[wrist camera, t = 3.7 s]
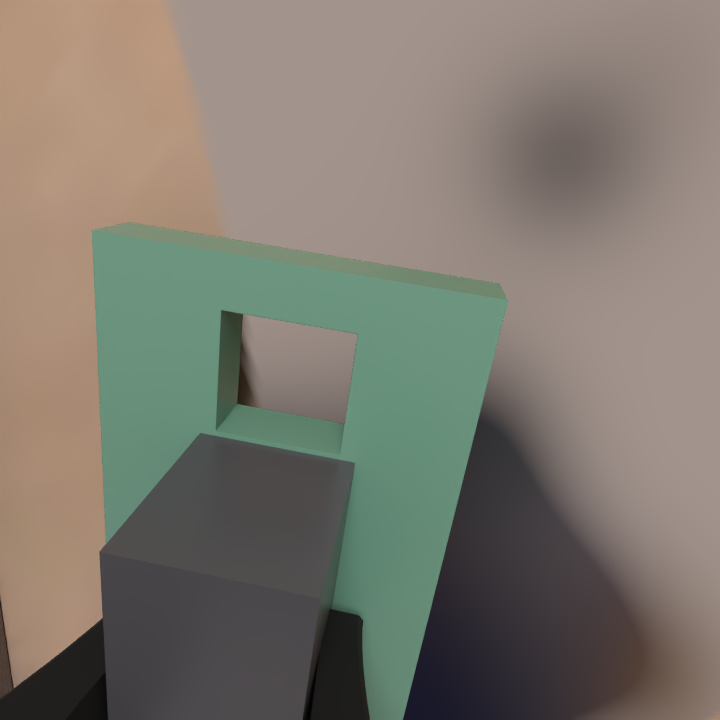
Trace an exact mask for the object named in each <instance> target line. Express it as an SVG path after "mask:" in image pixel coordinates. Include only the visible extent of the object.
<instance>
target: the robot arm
mask: <svg viewBox="0 0 720 720" xmlns="http://www.w3.org/2000/svg"><path fill="white" fill-rule="evenodd" d="M362 630H363V620H362V618H361V617H360V616H359V615H356V614H351V613H347V612H342V611H337V610H333V609H330V612H329V616H328V619H327V623H326V627H325V631H324V635H323V639H322V643H321V647H320V652H319V658H318V665H317V671H316V677H315V684H314V690H313V697H312V703H311V710H310V716H309V720H370V715H369V709H368V703H367V695H366V687H365V678H364V667H363V651H362ZM0 720H108V707H107V688H106V668H105V649H104V629H103V618H102V619H101V620H100V621H99V622H98V623H96V624H95V625H94V626H93V627H92V628H90V629H89V630H88V631H87V632H86V633H84V634H83V635H82V636H81V637H79V638H78V639H77V640H76V641H75V642H73V643H72V644H71V645H70V646H68V647H67V648H66V649H65V650H64V651H62V652H61V653H60V654H59V655H57V656H56V657H55V658H53V659H52V660H51V661H50V662H48V663H47V664H46V665H44V666H43V667H42V668H40V669H39V670H38V671H36V672H35V673H34V674H32V675H31V676H30V677H28V678H27V679H26V680H24V681H23V682H22V683H20V684H19V685H18V686H16V687H15V688H14V689H12V690H11V691H10V692H8V693H7V694H6V695H4V696H3V697H2V698H0Z"/></svg>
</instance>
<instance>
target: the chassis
mask: <svg viewBox="0 0 720 720" xmlns="http://www.w3.org/2000/svg"><path fill="white" fill-rule="evenodd" d="M12 689H13V688H12V681H11V674H10V667H9V661H8V654H7V647H6V641H5V634H4V627H3V621H2V614H1V607H0V698H2V697H3V696H4V695H6V694H7V693H8V692H10V691H11V690H12Z"/></svg>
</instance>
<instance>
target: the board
mask: <svg viewBox="0 0 720 720" xmlns="http://www.w3.org/2000/svg"><path fill="white" fill-rule="evenodd" d="M92 243H93V265H94V287H95V309H96V331H97V353H98V375H99V397H100V419H101V441H102V464H103V486H104V508H105V530H106V545H105V546H104V547H103V548H102V550H101V551H100V571H101V590H102V610H103V629H104V649H105V668H106V688H107V707H108V720H309V716H310V710H311V703H312V697H313V690H314V684H315V677H316V671H317V665H318V658H319V652H320V647H321V643H322V639H323V635H324V631H325V627H326V623H327V619H328V616H329V612H330V609H333V610H337V611H342V612H347V613H351V614H356V615H359V616H360V617H361V618H362V620H363V630H362V651H363V667H364V678H365V687H366V695H367V703H368V709H369V715H370V720H403V717H404V712H405V709H406V705H407V701H408V697H409V692H410V688H411V684H412V681H413V677H414V673H415V669H416V665H417V661H418V657H419V653H420V648H421V645H422V641H423V637H424V633H425V629H426V625H427V620H428V617H429V613H430V609H431V605H432V601H433V597H434V593H435V589H436V585H437V581H438V577H439V573H440V569H441V565H442V561H443V557H444V553H445V549H446V545H447V541H448V537H449V533H450V529H451V525H452V521H453V517H454V513H455V509H456V505H457V501H458V498H459V493H460V489H461V486H462V482H463V477H464V474H465V469H466V466H467V462H468V458H469V454H470V450H471V445H472V441H473V438H474V434H475V430H476V426H477V422H478V418H479V414H480V410H481V406H482V402H483V398H484V394H485V390H486V386H487V382H488V378H489V374H490V370H491V366H492V362H493V357H494V354H495V350H496V346H497V342H498V338H499V334H500V330H501V326H502V322H503V318H504V314H505V310H506V306H507V302H508V299H507V297H506V296H505V293H504V291H503V290H502V288H501V286H500V284H498V283H493V282H487V281H481V280H474V279H468V278H462V277H457V276H451V275H444V274H438V273H432V272H426V271H420V270H414V269H408V268H402V267H396V266H390V265H384V264H378V263H372V262H366V261H360V260H354V259H348V258H342V257H335V256H330V255H324V254H318V253H312V252H306V251H300V250H294V249H288V248H282V247H276V246H270V245H264V244H258V243H252V242H246V241H240V240H234V239H228V238H222V237H216V236H210V235H204V234H198V233H192V232H186V231H180V230H174V229H168V228H162V227H156V226H150V225H144V224H138V223H132V222H128V223H123V224H118V225H114V226H109V227H105V228H100V229H95V230H92ZM243 314H247V315H252V316H258V317H264V318H270V319H275V320H281V321H286V322H292V323H298V324H303V325H309V326H315V327H321V328H327V329H332V330H338V331H343V332H349V333H355V334H358V336H357V343H356V350H355V357H354V364H353V370H352V377H351V384H350V391H349V397H348V405H347V412H346V418H345V424H341V423H335V422H331V421H325V420H320V419H315V418H309V417H304V416H298V415H293V414H288V413H282V412H277V411H272V410H266V409H261V408H256V407H251V406H245V405H240V404H237V399H238V383H239V367H240V350H241V334H242V318H243Z"/></svg>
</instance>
